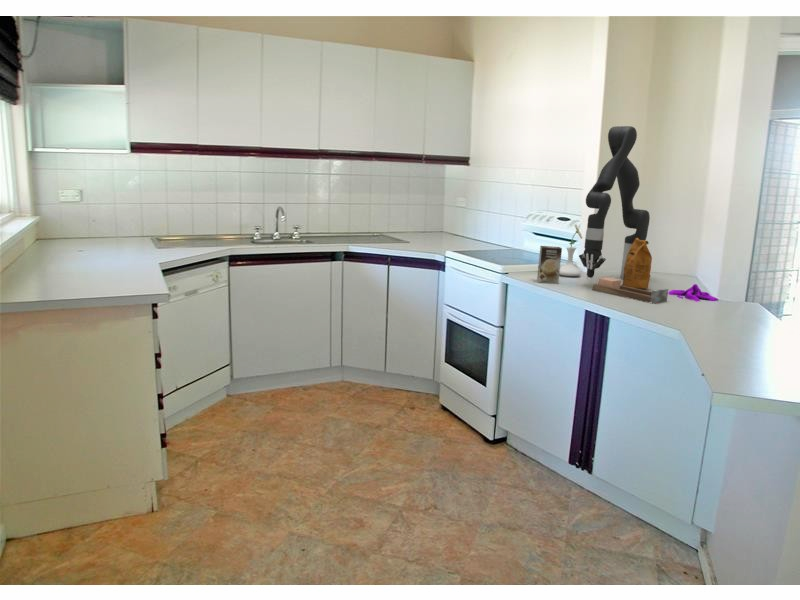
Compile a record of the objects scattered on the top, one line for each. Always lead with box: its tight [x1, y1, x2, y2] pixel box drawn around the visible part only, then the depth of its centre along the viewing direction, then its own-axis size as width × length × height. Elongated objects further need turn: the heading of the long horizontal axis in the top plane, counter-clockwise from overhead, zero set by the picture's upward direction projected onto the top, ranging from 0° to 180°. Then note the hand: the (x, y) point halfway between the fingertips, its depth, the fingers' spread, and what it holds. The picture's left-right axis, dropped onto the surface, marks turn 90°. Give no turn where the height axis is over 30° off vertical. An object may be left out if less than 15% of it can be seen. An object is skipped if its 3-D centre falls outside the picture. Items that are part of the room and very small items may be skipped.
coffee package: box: [621, 238, 653, 290], centre depth 288 cm, size 10×12×22 cm
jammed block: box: [597, 276, 622, 289], centre depth 280 cm, size 6×7×5 cm
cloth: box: [668, 283, 719, 302], centre depth 273 cm, size 22×19×6 cm
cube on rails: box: [591, 283, 669, 304], centre depth 272 cm, size 10×30×5 cm, turn 37°
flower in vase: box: [559, 223, 583, 277], centre depth 312 cm, size 13×11×25 cm
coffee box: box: [536, 245, 563, 284], centre depth 295 cm, size 9×6×16 cm
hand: (590, 277), depth 287 cm, fingers closed
